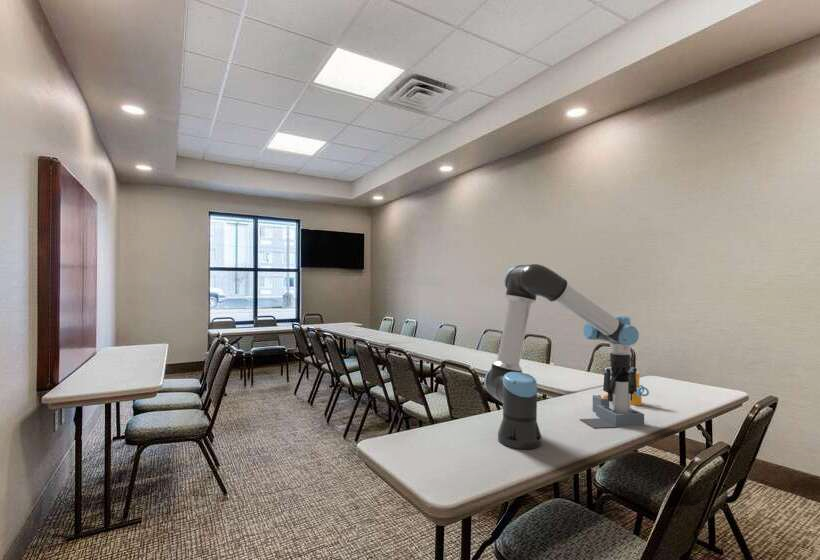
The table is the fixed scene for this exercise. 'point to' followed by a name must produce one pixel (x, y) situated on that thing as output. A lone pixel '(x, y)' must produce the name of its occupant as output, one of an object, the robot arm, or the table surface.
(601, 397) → the orange rounded peg
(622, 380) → the travel mug
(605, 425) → the rubber mat
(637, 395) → the cylinder
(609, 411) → the grey compartment tray
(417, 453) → the table surface
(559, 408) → the table surface
